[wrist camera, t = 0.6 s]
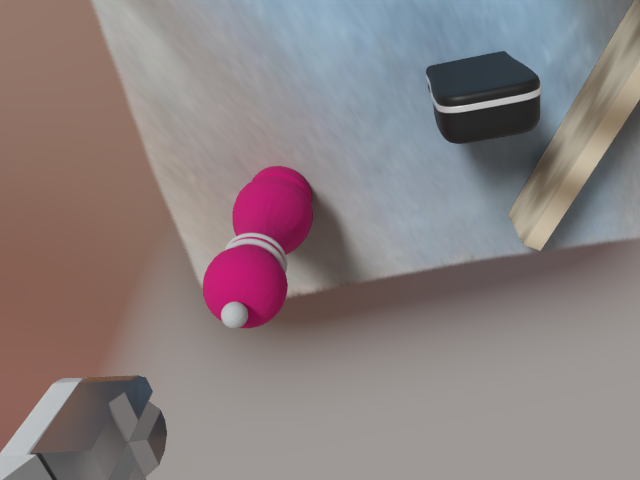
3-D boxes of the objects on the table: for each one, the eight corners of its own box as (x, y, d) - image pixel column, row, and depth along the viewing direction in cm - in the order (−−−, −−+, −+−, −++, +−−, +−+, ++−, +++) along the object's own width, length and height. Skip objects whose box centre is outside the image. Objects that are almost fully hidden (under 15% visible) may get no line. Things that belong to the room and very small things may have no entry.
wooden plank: (670, -62, 38) (717, -64, 32) (689, -54, 38) (740, -54, 32) (507, 213, 49) (523, 245, 44) (522, 219, 49) (540, 250, 44)
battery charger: (427, 110, 45) (442, 155, 35) (422, 66, 43) (436, 100, 34) (510, 94, 44) (549, 136, 34) (508, 48, 42) (549, 79, 32)
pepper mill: (332, 191, 50) (309, 320, 33) (288, 240, 53) (246, 381, 36) (272, 145, 48) (214, 255, 31) (230, 199, 51) (156, 326, 34)
